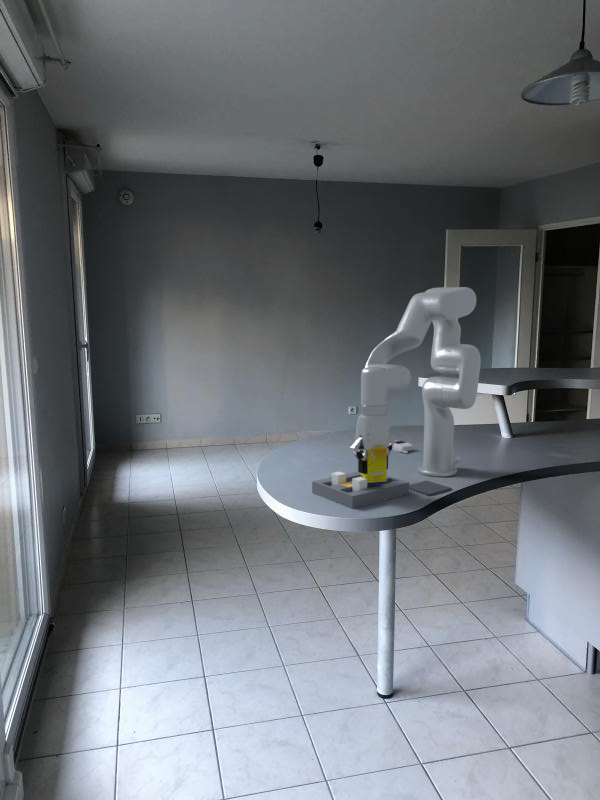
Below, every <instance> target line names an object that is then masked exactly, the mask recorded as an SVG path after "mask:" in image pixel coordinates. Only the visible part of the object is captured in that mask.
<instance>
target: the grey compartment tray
mask: <svg viewBox="0 0 600 800" xmlns="http://www.w3.org/2000/svg"><path fill="white" fill-rule="evenodd" d="M345 474H346V482H344V483H339V484H336V485H331V483H332V476H330V477H326V478H321V479H317V480H313V481H311V493H312V494H314V495H317V496H319V497H322V498H324V499H327V500H329V499H330V500H329V501H332V500H333V501H332V502H334V501H335V503H337V502H338V504H339V503H340V505H342V506H344V505H345V507H347V508H349V509H353V510H354V509H355V508H356V507H357V508H359V506H361V507H364V506H367V505H366V504H368V505H371V504H370V503H372V504H374V503H373V502H376V503H378V502H377V501H380V502H382V501H381V500H384V499H387V500H390V499H389V498H391V499H394V498H393V497H395V498H397V497H396V496H399V497H401V496H400V495H403V496H405V495H404V494H407V495H409V494H410V490H409V485H410V482H409V481H406V480H404V479H399V478H397V477H393V476H390V475H387V474H386V484H379V485H367V488H365V489H361V490H357V491H352V479H353V478H357V477H361V473H359V472H358V471H354V472H350V473H345ZM408 493H409V494H408ZM384 501H385V500H384ZM363 505H364V506H363Z"/></svg>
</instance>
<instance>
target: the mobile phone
mask: <svg viewBox="0 0 600 800" xmlns="http://www.w3.org/2000/svg"><path fill="white" fill-rule="evenodd" d="M392 447H393V448H392V450H391V451H394V452H397V451H398V453H402V454H409V451H413V450H414V447H413V444H411V443H410V442H407V441H404V440H396V439H395V443H394V445H393V446H392Z"/></svg>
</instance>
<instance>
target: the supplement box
mask: <svg viewBox="0 0 600 800" xmlns="http://www.w3.org/2000/svg"><path fill="white" fill-rule="evenodd" d="M363 453H364V452H363ZM363 453H362V455H363ZM366 460H367V474H363V473H361V477H362V478H365V479H367V485H379V484H386V475H387V473H388V472H387V471H388V469H387V447H385V446H379V447H375V448H372V449H371V450H370V451H368V452H367V457H366Z"/></svg>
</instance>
